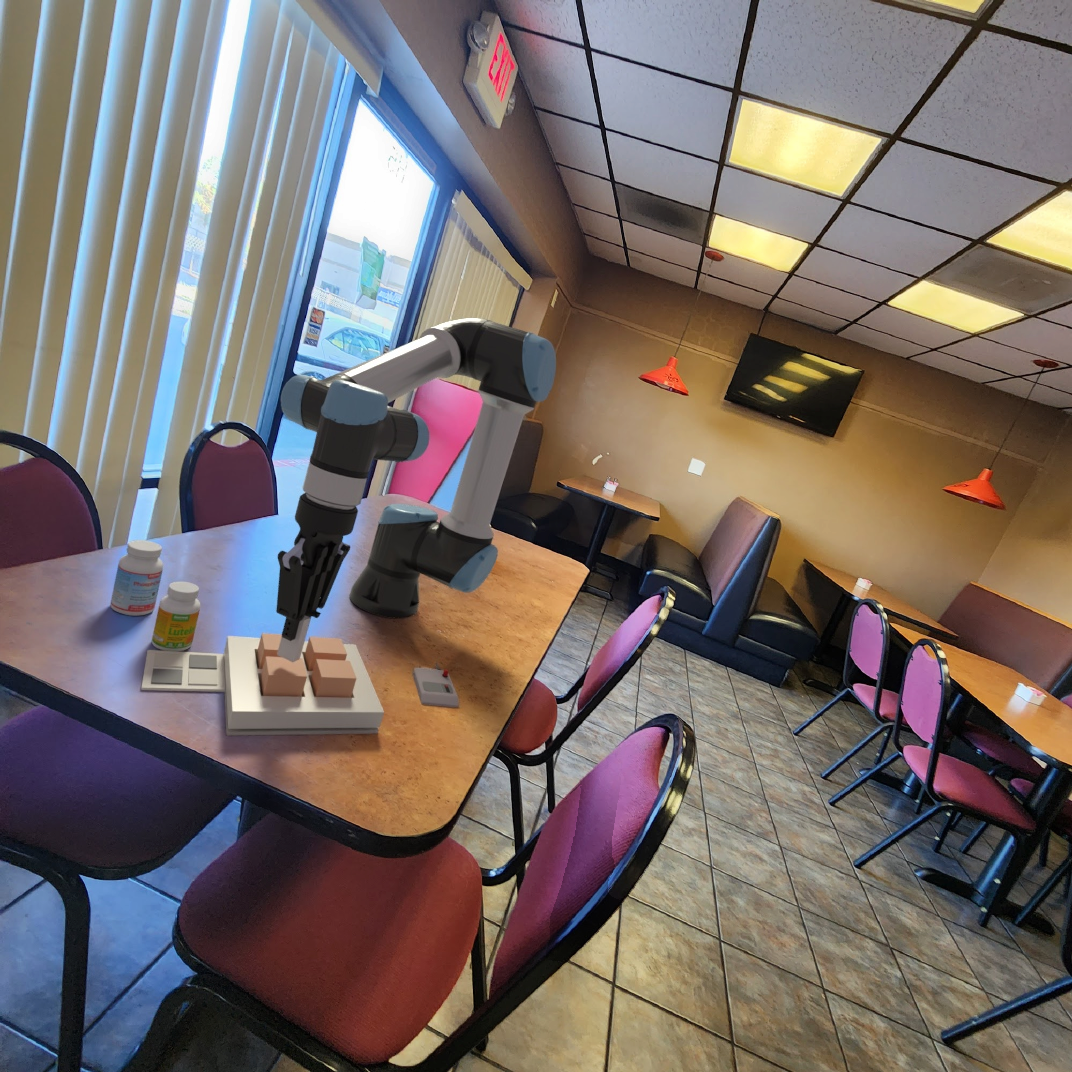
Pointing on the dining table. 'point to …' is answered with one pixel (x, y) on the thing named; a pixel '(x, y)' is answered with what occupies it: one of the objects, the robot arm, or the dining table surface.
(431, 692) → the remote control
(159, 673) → the card
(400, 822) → the dining table surface
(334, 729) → the board
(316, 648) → the button
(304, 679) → the button
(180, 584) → the supplement bottle
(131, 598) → the pill bottle
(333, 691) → the button
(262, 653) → the button
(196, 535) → the dining table surface
